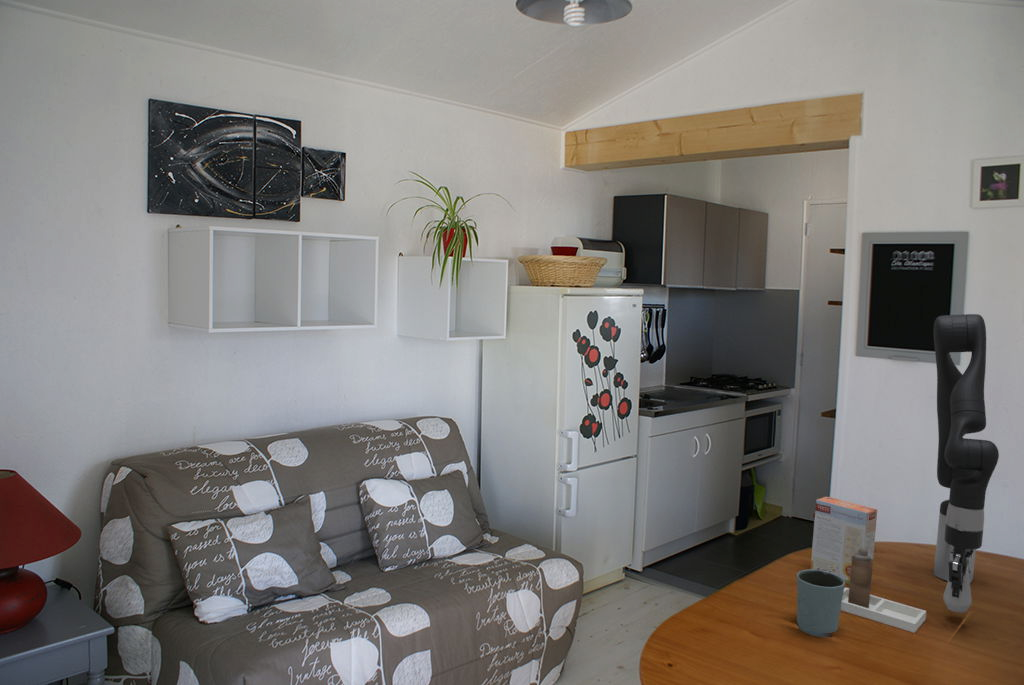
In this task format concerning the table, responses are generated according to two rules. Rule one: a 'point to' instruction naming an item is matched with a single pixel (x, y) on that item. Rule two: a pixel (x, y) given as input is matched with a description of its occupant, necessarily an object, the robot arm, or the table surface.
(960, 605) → the salt shaker
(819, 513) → the cracker box
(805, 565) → the table surface
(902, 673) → the table surface
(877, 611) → the caddy
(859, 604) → the pepper mill
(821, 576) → the blue-grey cup
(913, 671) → the table surface
